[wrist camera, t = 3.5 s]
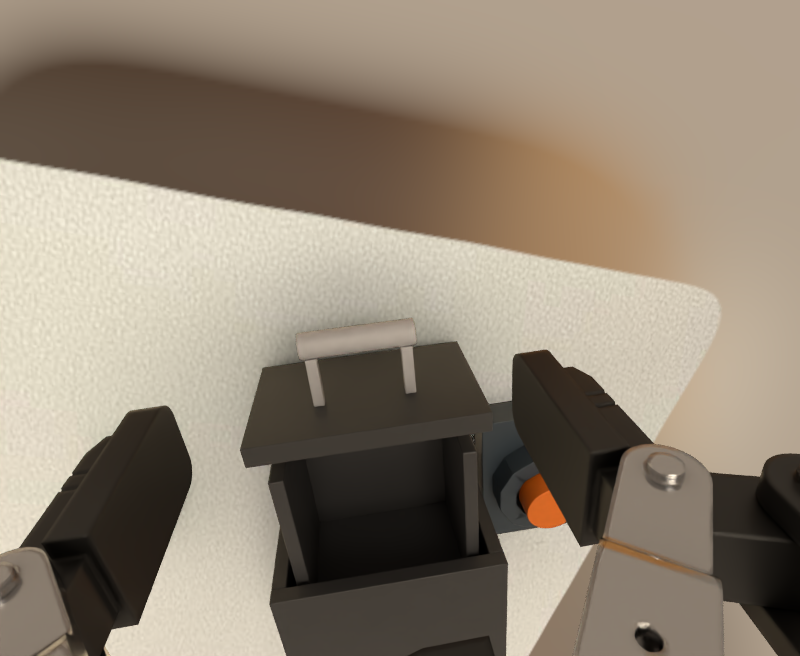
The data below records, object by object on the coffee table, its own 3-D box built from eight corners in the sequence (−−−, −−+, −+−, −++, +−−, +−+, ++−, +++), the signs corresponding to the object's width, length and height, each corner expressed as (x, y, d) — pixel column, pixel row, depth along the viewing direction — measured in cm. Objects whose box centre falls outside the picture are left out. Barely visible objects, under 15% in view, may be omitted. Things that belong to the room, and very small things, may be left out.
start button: (519, 475, 33) (528, 494, 31) (568, 467, 33) (580, 485, 31) (517, 512, 34) (526, 532, 33) (565, 505, 35) (576, 524, 33)
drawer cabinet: (286, 479, 35) (269, 604, 26) (466, 451, 36) (508, 563, 27) (318, 604, 42) (313, 738, 33) (470, 578, 42) (505, 701, 34)
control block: (473, 406, 34) (489, 442, 31) (579, 390, 35) (607, 423, 31) (476, 515, 39) (490, 556, 35) (569, 499, 40) (592, 539, 36)
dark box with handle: (246, 305, 28) (216, 374, 21) (454, 278, 29) (492, 336, 22) (301, 520, 36) (292, 623, 29) (463, 494, 37) (493, 588, 30)
